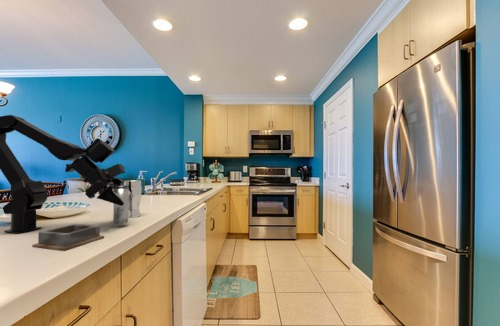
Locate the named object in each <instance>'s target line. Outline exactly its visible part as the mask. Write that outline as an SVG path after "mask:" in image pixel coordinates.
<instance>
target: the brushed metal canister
mask: <svg viewBox="0 0 500 326" xmlns="http://www.w3.org/2000/svg"><path fill="white" fill-rule="evenodd" d="M114 191H115V192H116V194H117V195H118V196H119V197H120V199H121V200H122V201H123V202H124V205H122V206H120V205H117V204H114V203H113V212H112V213H113V214H112V215H113V217H112V218H113V220H112V224H113V225H115V226H116V225H118V226H119V225H125V224H129V218H128V191H129V185H124V184H123V185H117V186H114Z"/></svg>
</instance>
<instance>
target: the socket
mask: <svg viewBox="0 0 500 326" xmlns="http://www.w3.org/2000/svg"><path fill="white" fill-rule="evenodd" d="M100 230H101V227H100V225H93V224H92V225H90V224H80V223H78V224H77V223H74V224H69V225H65V226H59V227H56V228H52V229H47V230H44V231H43V230H42V231H39V232H38V242H37V243H34V244H32V248H35V249H36V248H37V249H47V250H54V251H62V252H66V251H69V250H72V249H75V248H79V247H81V246H85V245H87V244H90V243H93V242H97V241H100V240H103V239H105V236H104V235H100Z"/></svg>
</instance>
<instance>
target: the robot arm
mask: <svg viewBox="0 0 500 326" xmlns="http://www.w3.org/2000/svg"><path fill="white" fill-rule="evenodd" d="M14 131H16V132H18V133H19V134H21V135H23V136H25V137H27V138H28V139H30V140H33V141H34V142H36V143H38V144H40V145H41V146H43V147H44V148H45V149H46V150H47V151H48V153H50V154H51V155H52V156H53V157H55V158H56V159H58V160H60V161H66V162H68V161H69V162H71V163H66V164H65V168H64V169H65V171H64V172H66V173H73V172H76V173H77V174H78V175H79V176H80V177H82V179H83V183H85V184H86V183H87V184H89V185H90V186H89V187H88V188H86V190H85V196H86V197H87V198H88V199H90V200H91V199H94V198H96V199H97V200H101V201H104V202H105V201H106V202H107V203H112V204H113V205H114V204H117V205H120V206H122V205H124V202H123V201H122V200H121V199H120V197H119V196H118V195H117V194H116V192H115V191H114V186H117V185H124V182H125V181H126V180H124V179H123V178H122V177H117V176H118V175H121V174H125V173H126V170H125V169H126V167H125V166H124V165H123V164H121V163H116V164H114V165H112V166H110V167H109V166H108V167H107V168H100V167H99V166H98V165H97V163H100V164H101V163H102V164H103V163H104V162H105V161H106V160H107V159H108V158H109V157H111V156H112V155H113V154H114V153H115V152H116V151H115V149H114V148H113V147H112V145H109V144H108V143H106V142H105V141H103V140H102V139H101V138H99V137H97V138H96V139H94V140H93V142H92V143H91V144H90V145H88V146H87V147H81V146H80V145H77V144H74V143H72V142H69V141H66V140H63V139H60V138H58V137H56V136H53V135H52V134H50V133H49V132H46V131H45V130H44V129H41V128H40V127H38V126H36V125H34V124H32V123H31V122H29V121H27V120H26V119H24V118H23V117H20V116H18V115H17V116H16V115H13V114H8V115H6V114H5V115H2V116H0V171H1V173H2V174H3V175H4V177H5V179H6V180H7V182H8V184H9V185H10V189H9V190H10V192H9V195H10V197H11V200H9V202H7V203H6V204H5V205H4V206H3V207H2V211H3V213H4V215H10V229H7V230H6V229H5V230H4V233H8V234H9V233H11V234H23V233H27V232H31V231H36V230H41V229H42V227H41V226H37V219H38V217H37V210H41V209H42V207H43V205H44V204H45V203H46V202H47V200H48V197H49V195H48V191H49V190H48V189H47V188H45V186H44V183H43V181H41V180H33V179H31V178H30V177H29V175H28V174H27V172H26V171H25V169H24V168H23V166H22V165H21V162H20V161H19V160H18V158H17V157H16V156H15V154H14V153H13V150H12V149H11V147H10V146H9V145H8V143H7V134H8V133H12V132H14ZM115 177H117V178H115ZM96 194H98V196H97V197H96ZM128 202H129V201H128Z"/></svg>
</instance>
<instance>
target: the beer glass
mask: <svg viewBox="0 0 500 326" xmlns="http://www.w3.org/2000/svg"><path fill="white" fill-rule="evenodd" d="M124 181H125V182H124V183H123V185H129V191H128V201H129V202H128V219H132V218H138V217H141V213H140V204H141V203H140V202H141V199H142V192H143V191H142V189H143V188H142V181H141V179H137V180H135V179H134V180H133V179H131V180H124Z"/></svg>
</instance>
